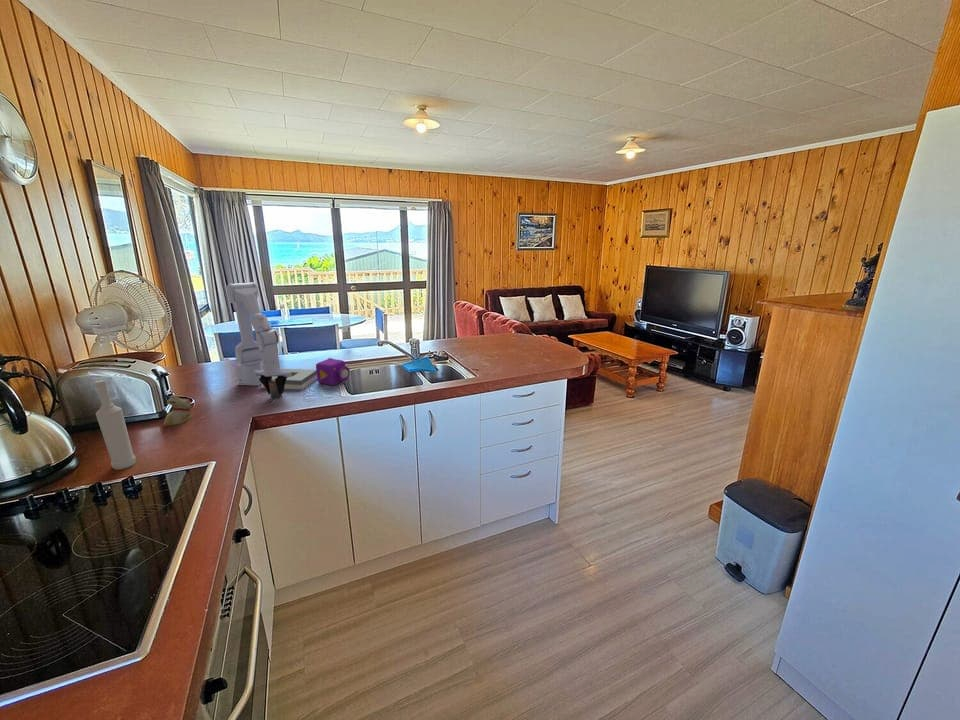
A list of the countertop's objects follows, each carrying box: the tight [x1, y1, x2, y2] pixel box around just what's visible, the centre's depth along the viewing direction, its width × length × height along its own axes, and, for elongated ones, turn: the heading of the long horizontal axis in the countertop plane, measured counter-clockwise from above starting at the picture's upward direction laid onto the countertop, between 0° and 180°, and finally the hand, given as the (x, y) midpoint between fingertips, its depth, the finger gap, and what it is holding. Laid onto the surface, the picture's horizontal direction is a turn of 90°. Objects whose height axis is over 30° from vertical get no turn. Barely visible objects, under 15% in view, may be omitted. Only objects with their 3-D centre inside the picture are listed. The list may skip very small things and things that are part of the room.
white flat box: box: [260, 368, 318, 390], centre depth 173 cm, size 18×14×4 cm
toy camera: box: [315, 357, 351, 386], centre depth 174 cm, size 11×14×10 cm
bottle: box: [94, 379, 137, 470], centre depth 107 cm, size 5×5×25 cm
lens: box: [268, 379, 283, 400], centre depth 157 cm, size 4×4×7 cm
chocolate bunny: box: [163, 394, 192, 427], centre depth 136 cm, size 6×8×10 cm
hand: (275, 393), depth 158 cm, fingers closed on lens, 4 cm apart
